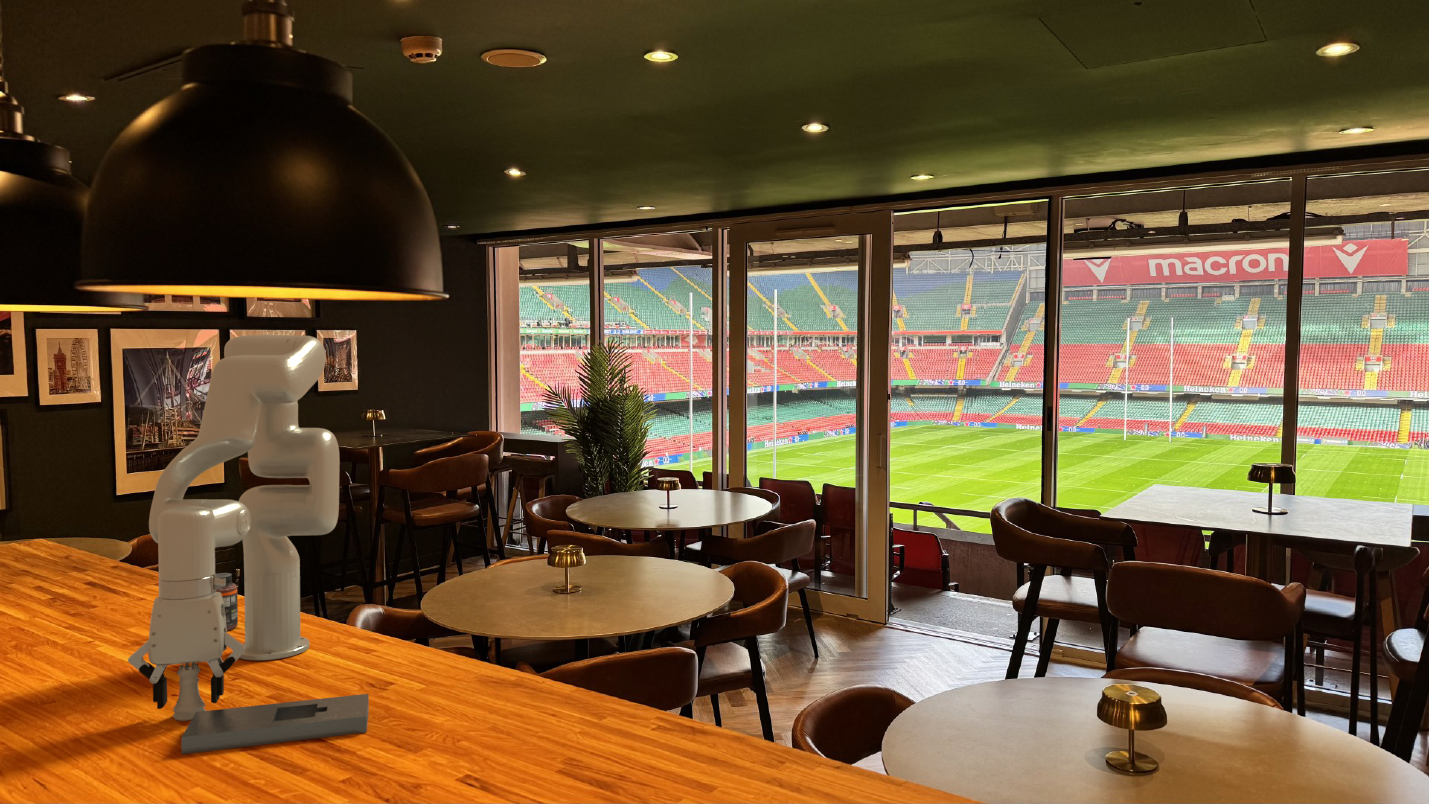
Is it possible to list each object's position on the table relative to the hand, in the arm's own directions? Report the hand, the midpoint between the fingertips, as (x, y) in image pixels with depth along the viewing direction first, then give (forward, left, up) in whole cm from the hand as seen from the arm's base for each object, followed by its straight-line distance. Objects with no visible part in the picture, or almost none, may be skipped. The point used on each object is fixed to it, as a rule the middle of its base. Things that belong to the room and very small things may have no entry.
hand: (189, 702), depth 140 cm
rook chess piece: (0, 0, -2) cm, 2 cm away
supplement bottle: (-52, -4, -2) cm, 52 cm away
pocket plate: (+10, +14, -2) cm, 18 cm away
